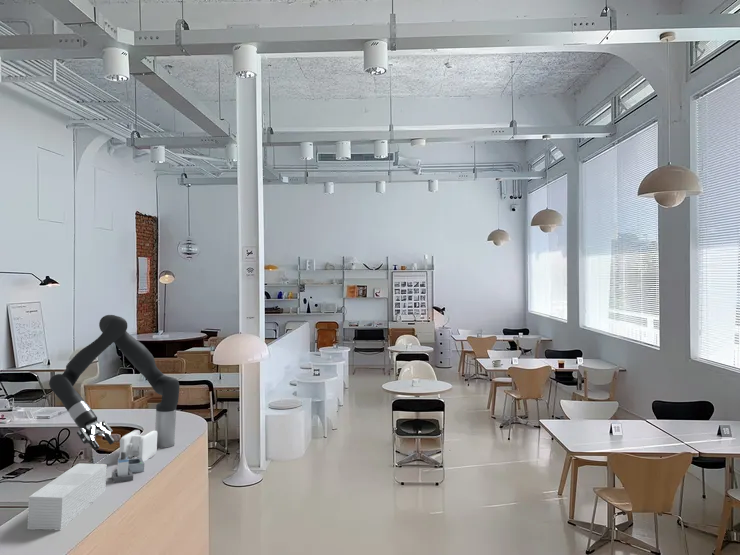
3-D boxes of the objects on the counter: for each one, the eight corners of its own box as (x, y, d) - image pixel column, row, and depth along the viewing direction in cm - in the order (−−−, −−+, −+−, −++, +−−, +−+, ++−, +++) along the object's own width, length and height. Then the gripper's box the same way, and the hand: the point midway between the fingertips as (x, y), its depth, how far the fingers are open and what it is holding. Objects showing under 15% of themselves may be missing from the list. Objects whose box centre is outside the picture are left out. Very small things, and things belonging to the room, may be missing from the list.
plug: (116, 477, 223) (117, 451, 223) (126, 476, 225) (127, 450, 225) (117, 480, 220) (119, 454, 220) (127, 479, 222) (129, 453, 222)
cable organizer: (141, 465, 240) (142, 438, 240) (117, 464, 241) (118, 437, 241) (157, 454, 255) (158, 429, 255) (134, 453, 256) (136, 428, 256)
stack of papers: (76, 491, 210) (78, 463, 210) (105, 492, 210) (106, 464, 210) (27, 530, 178) (28, 496, 178) (60, 531, 178) (62, 497, 178)
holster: (111, 478, 224) (111, 472, 224) (130, 476, 227) (130, 469, 227) (113, 484, 218) (114, 478, 218) (132, 481, 221) (133, 475, 221)
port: (120, 469, 234) (121, 459, 234) (140, 466, 238) (141, 456, 238) (123, 475, 227) (123, 465, 227) (144, 472, 232) (144, 462, 232)
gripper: (75, 413, 220) (98, 445, 217) (100, 405, 234) (123, 435, 231) (63, 425, 221) (86, 457, 218) (89, 416, 235) (111, 446, 232)
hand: (105, 446), depth 225 cm, fingers open, 8 cm apart
